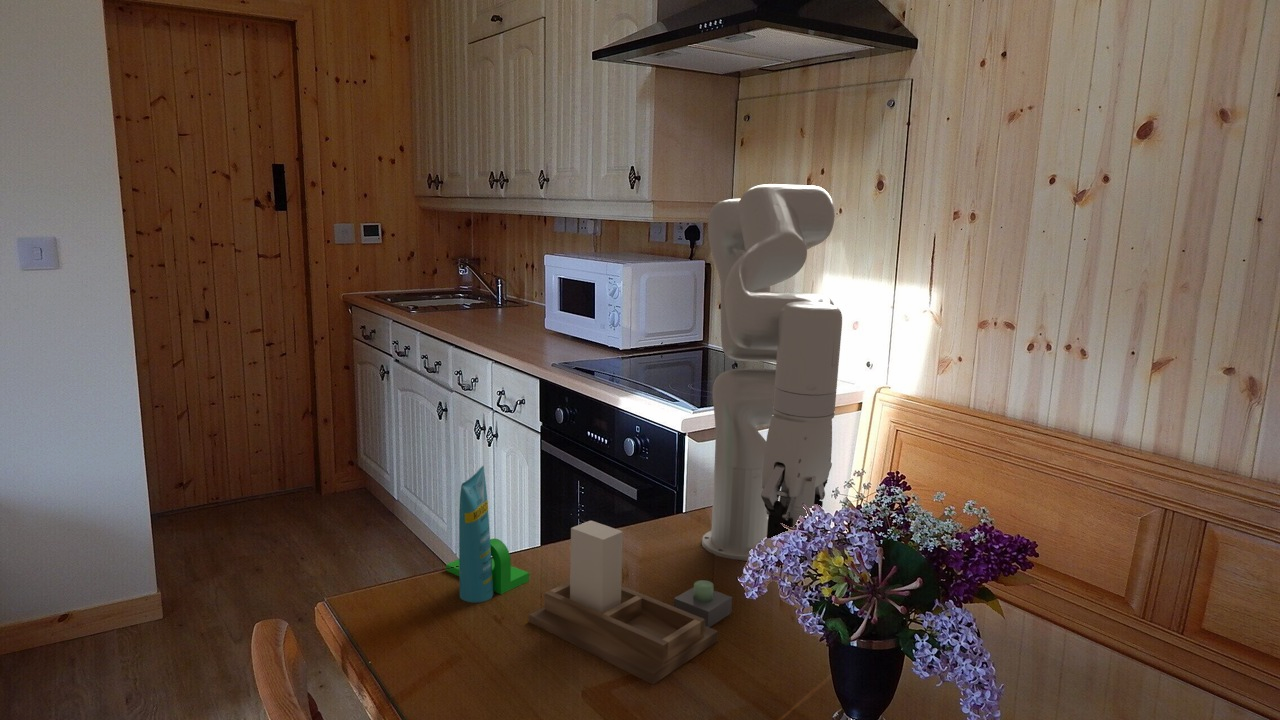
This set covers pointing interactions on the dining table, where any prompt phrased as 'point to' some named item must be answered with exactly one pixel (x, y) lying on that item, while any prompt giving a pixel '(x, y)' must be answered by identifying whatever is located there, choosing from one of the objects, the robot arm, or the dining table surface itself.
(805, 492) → the skincare box
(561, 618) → the wooden compartment tray
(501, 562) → the mechanical part
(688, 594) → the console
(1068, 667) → the dining table surface
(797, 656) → the dining table surface
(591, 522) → the billet
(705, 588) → the button
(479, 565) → the tube
